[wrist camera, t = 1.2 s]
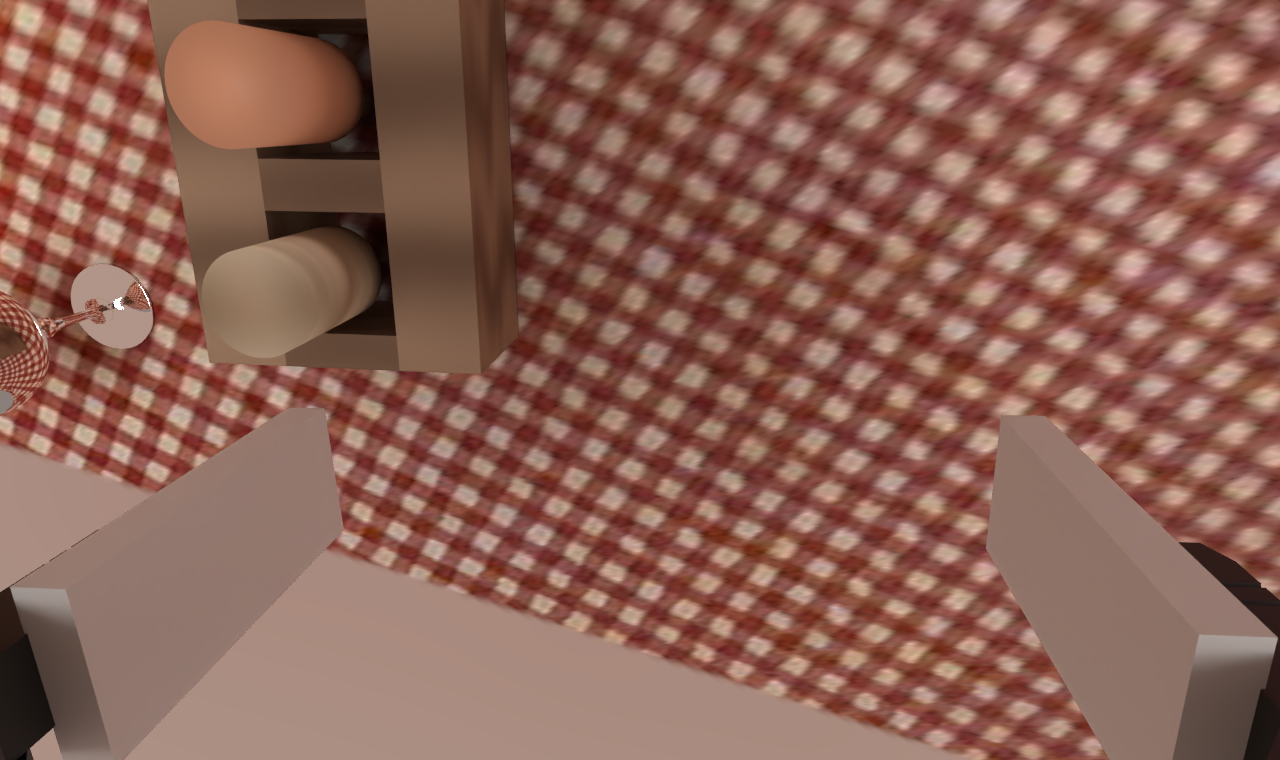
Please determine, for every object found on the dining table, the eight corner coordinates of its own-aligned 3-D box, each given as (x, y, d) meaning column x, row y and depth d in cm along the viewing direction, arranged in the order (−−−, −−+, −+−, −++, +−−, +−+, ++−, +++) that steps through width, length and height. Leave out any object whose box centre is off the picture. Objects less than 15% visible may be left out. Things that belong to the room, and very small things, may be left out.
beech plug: (287, 224, 33) (192, 247, 27) (377, 226, 32) (300, 250, 27) (299, 315, 34) (211, 356, 28) (386, 318, 33) (313, 360, 28)
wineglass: (60, 236, 40) (-207, 284, 29) (169, 269, 40) (-56, 330, 29) (58, 342, 42) (-194, 427, 31) (162, 374, 42) (-52, 471, 30)
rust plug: (262, 37, 30) (154, 20, 25) (358, 37, 30) (270, 19, 24) (276, 142, 32) (175, 148, 26) (369, 143, 31) (287, 150, 26)
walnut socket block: (212, -189, 33) (104, -251, 27) (495, -199, 32) (442, -267, 26) (284, 327, 40) (209, 362, 34) (518, 336, 39) (480, 374, 33)
